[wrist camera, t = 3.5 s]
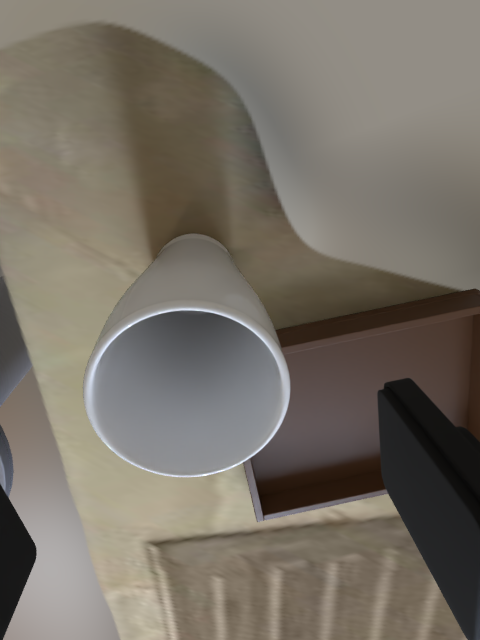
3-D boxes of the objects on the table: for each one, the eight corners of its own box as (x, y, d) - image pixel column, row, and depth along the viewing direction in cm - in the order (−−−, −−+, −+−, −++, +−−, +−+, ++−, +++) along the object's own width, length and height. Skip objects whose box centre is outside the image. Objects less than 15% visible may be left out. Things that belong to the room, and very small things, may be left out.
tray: (252, 495, 34) (257, 522, 32) (217, 341, 28) (219, 360, 26) (466, 449, 35) (487, 472, 32) (475, 288, 29) (502, 301, 26)
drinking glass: (147, 212, 25) (80, 284, 11) (253, 229, 26) (316, 314, 12) (139, 312, 27) (76, 475, 13) (236, 324, 28) (271, 486, 14)
